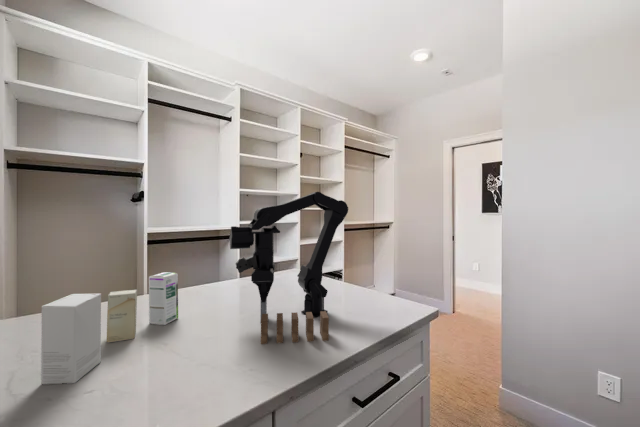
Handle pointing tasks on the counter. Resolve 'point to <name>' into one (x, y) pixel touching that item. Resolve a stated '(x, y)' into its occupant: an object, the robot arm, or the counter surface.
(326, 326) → the domino
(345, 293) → the counter surface
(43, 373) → the skincare box
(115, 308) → the skincare box
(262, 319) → the domino
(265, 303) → the grey domino
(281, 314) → the domino
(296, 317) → the domino
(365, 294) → the counter surface
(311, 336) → the domino
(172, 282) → the syrup box
